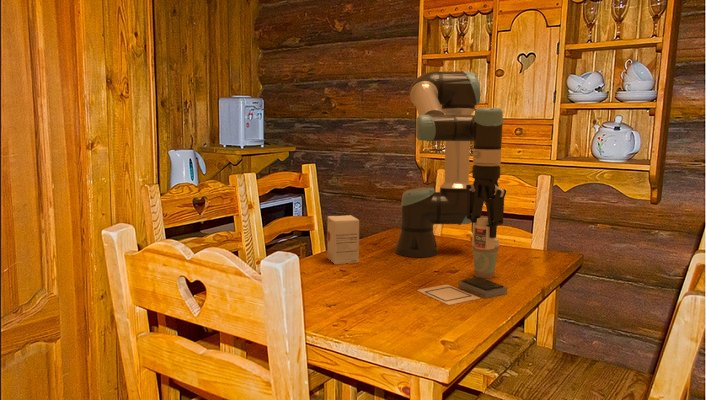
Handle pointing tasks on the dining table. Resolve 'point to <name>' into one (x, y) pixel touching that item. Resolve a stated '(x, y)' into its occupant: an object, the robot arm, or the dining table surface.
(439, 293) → the print card
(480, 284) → the ink pad
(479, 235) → the pill bottle
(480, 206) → the robot arm
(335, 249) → the supplement box
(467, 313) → the dining table surface
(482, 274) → the coffee cup
